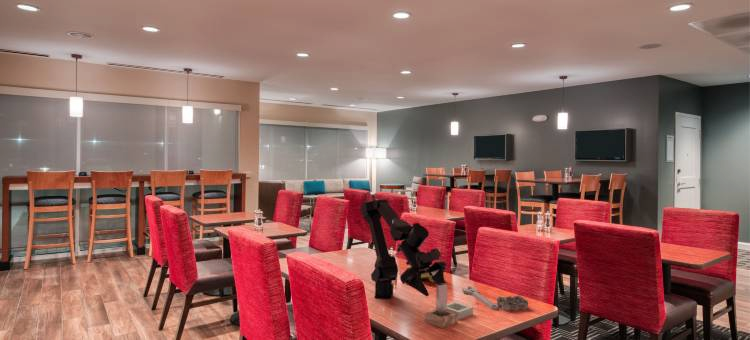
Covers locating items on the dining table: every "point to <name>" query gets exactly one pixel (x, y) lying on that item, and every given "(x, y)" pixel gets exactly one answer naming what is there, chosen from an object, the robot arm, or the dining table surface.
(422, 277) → the plastic component
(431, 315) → the beige square ring
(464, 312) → the square hollow frame
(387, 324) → the dining table surface
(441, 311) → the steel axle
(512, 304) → the grey jagged open ring
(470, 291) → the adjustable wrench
